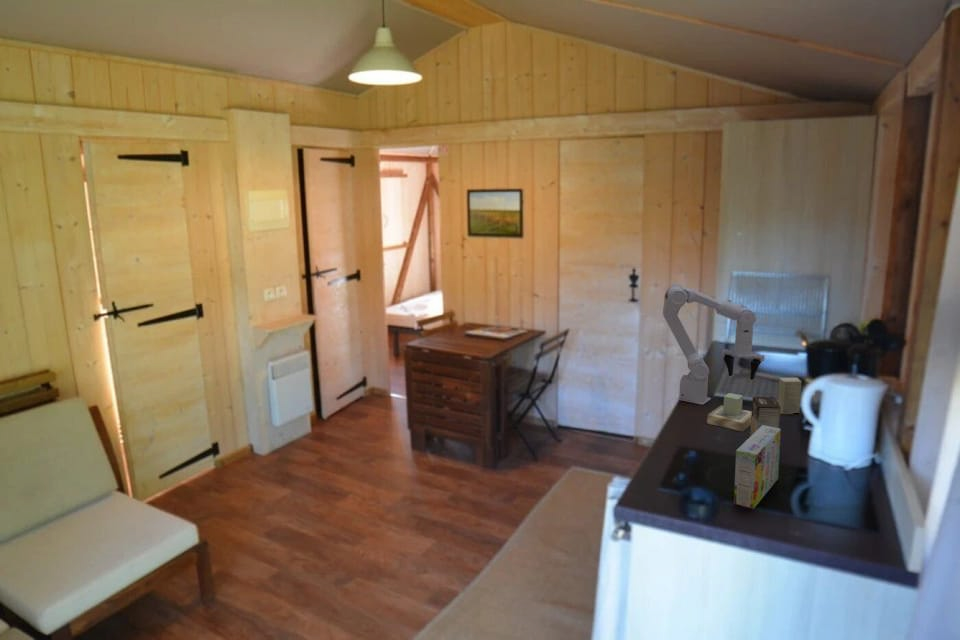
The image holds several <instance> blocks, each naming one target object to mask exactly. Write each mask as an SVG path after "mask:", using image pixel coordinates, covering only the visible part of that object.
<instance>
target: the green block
mask: <svg viewBox="0 0 960 640" xmlns="http://www.w3.org/2000/svg"><path fill="white" fill-rule="evenodd" d="M743 398H744V395H741V394H738V393H737V394H736V393H731V392H728V393H727V394H725V395H724V396H723V405H722V406H723V413H724V414H728V415H733V416H738V415H739V414H740V413H742V410H743V401H744V400H743Z"/></svg>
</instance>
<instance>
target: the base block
mask: <svg viewBox="0 0 960 640" xmlns="http://www.w3.org/2000/svg"><path fill="white" fill-rule="evenodd" d="M723 406H724V405H721V404H720V405H719V406H718V407H716V408H715V409H714V410H712V411H711V412H709V413H708V414H706V415H707V416H706V417H707V418H706V424H707V425H712V426H717V427H721V428H726V429H731V430H733V431H738V432H744V431H746V430H747V429H748V428H749V427H751V416H752V410H745V409H742V413H740V414H739V415H738V416H733V415H728V414H724V413H723Z"/></svg>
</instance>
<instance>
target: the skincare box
mask: <svg viewBox="0 0 960 640" xmlns="http://www.w3.org/2000/svg"><path fill="white" fill-rule="evenodd" d="M778 379H779V380H778V390H777V391H778V392H777V393H778V394H777V395H778V396H777V402H778V404H779V406H780V407H781V408H780V415H794V414H793V413H799V414H800V409H801V408H800V404H801V391H802V380H800V379H799V378H798V377H793V376H791V377H779V378H778Z"/></svg>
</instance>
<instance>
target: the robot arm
mask: <svg viewBox="0 0 960 640" xmlns="http://www.w3.org/2000/svg"><path fill="white" fill-rule="evenodd" d="M663 298H664V299H663V308H662V316H663V318H664V320H665V322H666V323H667V325H668V326H669V329H670V331H671V332H672V335H673V336H674V338H675V340H676V342H677V344H678V345H679V347H680V349H681V351H682V353H683V355H684V357H685V359H686V361H687V368H688V370H689V372H688V374H683V375H682V376H681V378H680V381H679V394H678V396H679V397H678V401H684V402H688V403H693V404H696V405H697V404H698V405H701V406H702V405H705V404H706V403H708V402H709V401H711V399H712V398H711V397H708V388H709V387H708V386H709V385H708V384H709V375H710V369H709V366H708V365H707V364H706V362H705V360H704V358H702V357H701V356H700V355H699V352H698V351H697V349H696V348H695V345H694V344H693V342H692V340H691V338H690V336H689V334H688V332H687V331H686V329H685V327H684V325H683V322H682V321H681V319H680V318H679V316H678V315H679V312H680V311H681V309H682V307H683V306H684V305H685V304H686V303H687V304H692V303H697V304H700V305H701V304H702V305H704V306H706V307H709V308H712V309H714V310H715V312H716V314H718V315H720V316H722V317H725V318H727V319H729V320H732V321H736V328H735V340H734V349H722V350H721V356H724V357H723V362H724V363H725V364H726V365H725V366H726V368H727V372H728V376H729V377H731V376H733V372H734V361H735V358H740V359H746V360H751V361H750V375H749V376H750V377H749V379H750V380H751V381H752V380H755V375H756V372H757V371H758V368H759V367H760V365H761V363H762V362H763V363H764V361H765V356H766V355H764V354H760V353H755V352H752V351H753V350H752V349H753V336H754V329H753V328H754V324H755V323H756V321H757V317H756V314H755V313H754V311H753V310H751V309H750V308H749V307H747V306H745V305H743V304H737V303H735V302H732V300H731V299H729V298H727V299H724V298H723V299H720V300H718V299H715V298H714V297H711V296H709V295H706V294H705V293H702V292H700V291H697V290H695V289H692V288H689V287H687V286H683V287H682V286H681V285H679V284H672V285H670V286H668V288H667V290H666V291H665V293H664V296H663Z"/></svg>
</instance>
